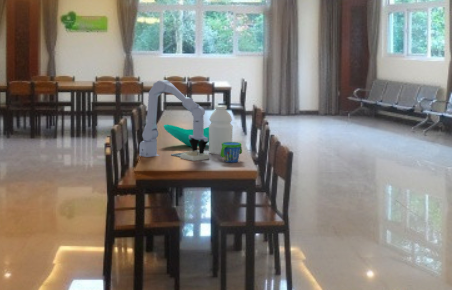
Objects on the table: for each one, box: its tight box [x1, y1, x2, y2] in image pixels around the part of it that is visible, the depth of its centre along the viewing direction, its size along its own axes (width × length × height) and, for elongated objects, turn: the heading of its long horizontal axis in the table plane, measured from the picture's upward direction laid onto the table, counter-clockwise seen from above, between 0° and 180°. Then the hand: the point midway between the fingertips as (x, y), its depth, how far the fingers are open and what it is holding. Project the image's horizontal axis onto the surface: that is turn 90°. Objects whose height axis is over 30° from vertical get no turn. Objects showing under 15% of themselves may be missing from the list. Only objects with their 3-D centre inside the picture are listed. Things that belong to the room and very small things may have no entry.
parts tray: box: [170, 151, 208, 158], centre depth 374 cm, size 18×10×1 cm, turn 132°
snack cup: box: [220, 141, 243, 164], centre depth 356 cm, size 16×10×10 cm
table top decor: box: [163, 124, 209, 148], centre depth 410 cm, size 40×28×13 cm
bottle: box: [208, 104, 234, 155], centre depth 382 cm, size 14×14×28 cm
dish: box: [180, 152, 210, 162], centre depth 362 cm, size 11×11×3 cm
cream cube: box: [186, 150, 197, 156], centre depth 361 cm, size 4×4×4 cm
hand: (198, 152), depth 364 cm, fingers open, 5 cm apart
